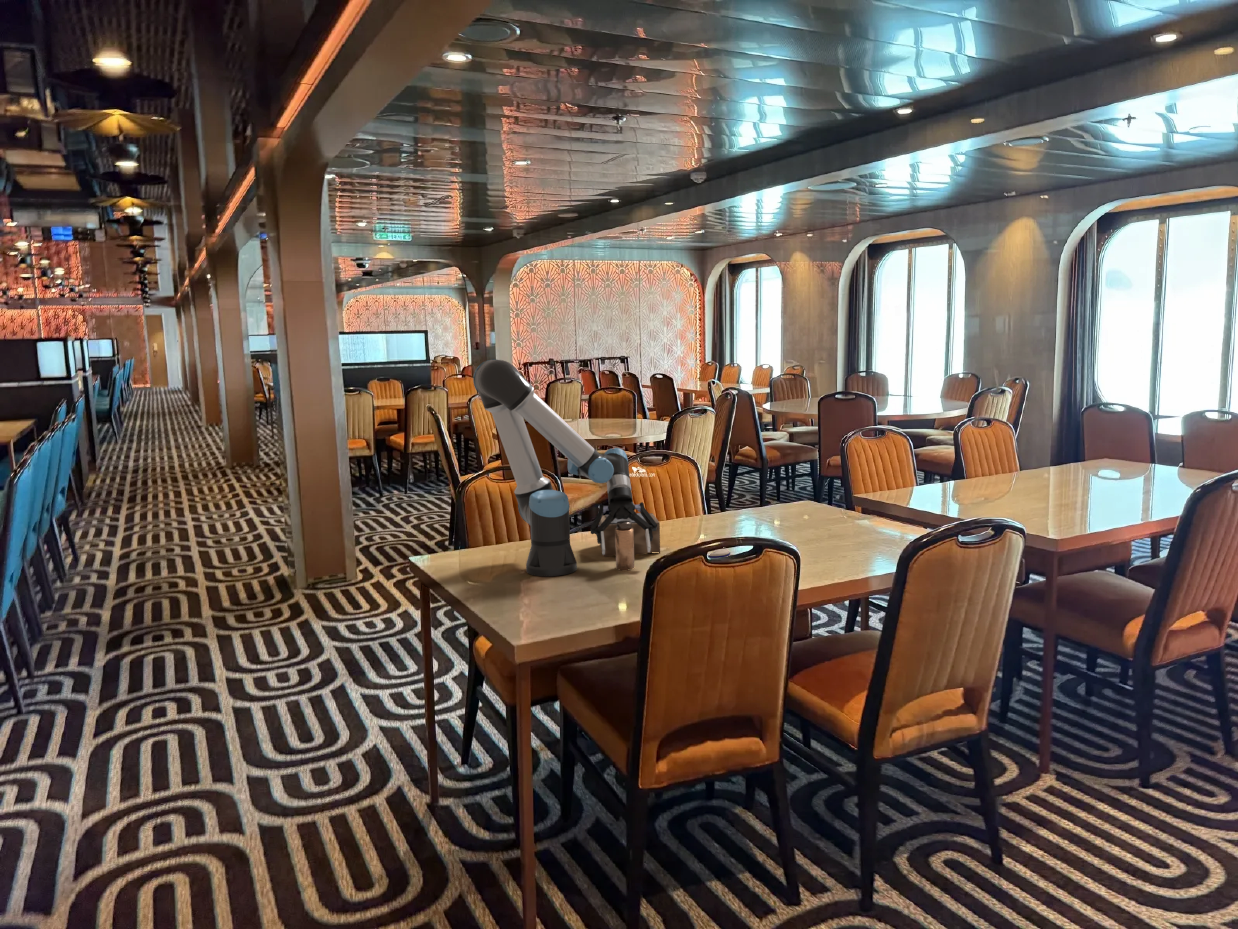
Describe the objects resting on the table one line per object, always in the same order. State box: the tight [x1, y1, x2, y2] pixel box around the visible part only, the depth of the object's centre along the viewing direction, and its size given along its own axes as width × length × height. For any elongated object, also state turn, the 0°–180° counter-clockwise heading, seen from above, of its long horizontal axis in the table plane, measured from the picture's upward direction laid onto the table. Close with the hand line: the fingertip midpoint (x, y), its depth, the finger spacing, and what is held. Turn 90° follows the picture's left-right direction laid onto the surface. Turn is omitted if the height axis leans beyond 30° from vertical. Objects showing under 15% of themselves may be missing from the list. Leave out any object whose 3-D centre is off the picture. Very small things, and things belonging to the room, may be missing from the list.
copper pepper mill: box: [615, 521, 635, 571], centre depth 259 cm, size 6×6×14 cm
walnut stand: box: [598, 512, 661, 557], centre depth 284 cm, size 18×16×10 cm
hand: (626, 551), depth 258 cm, fingers open, 13 cm apart
